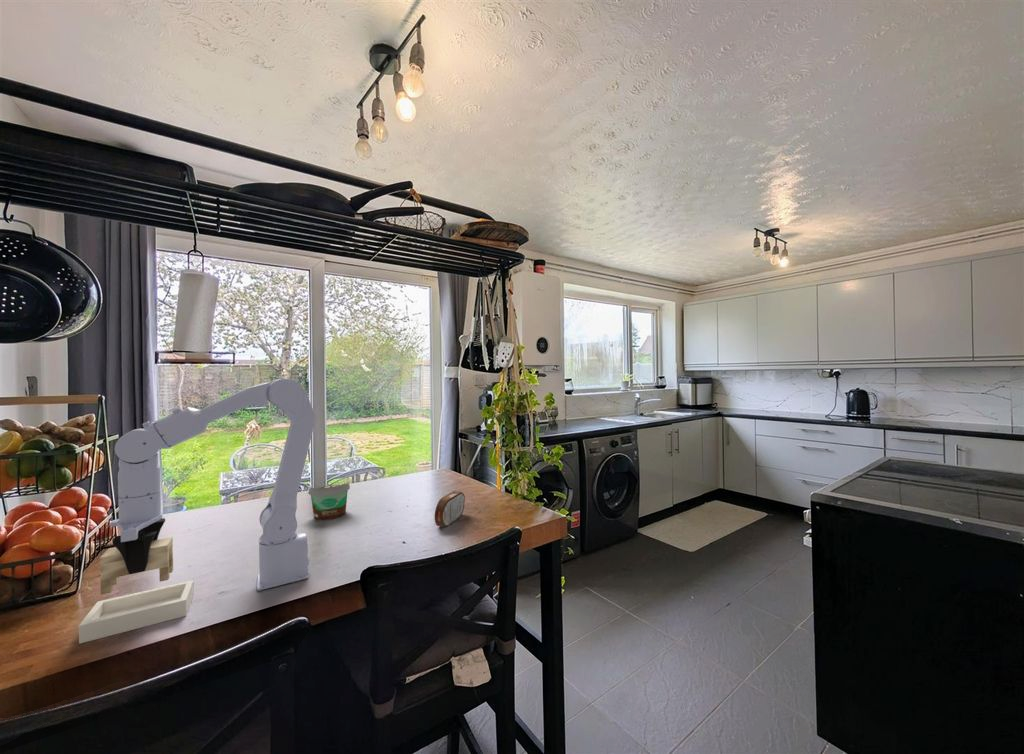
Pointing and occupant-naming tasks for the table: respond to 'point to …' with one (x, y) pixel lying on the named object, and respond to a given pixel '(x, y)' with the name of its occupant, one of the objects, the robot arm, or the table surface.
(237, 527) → the table surface
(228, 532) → the table surface
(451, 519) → the tin
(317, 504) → the food container
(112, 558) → the wooden toy bench
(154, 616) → the tray
